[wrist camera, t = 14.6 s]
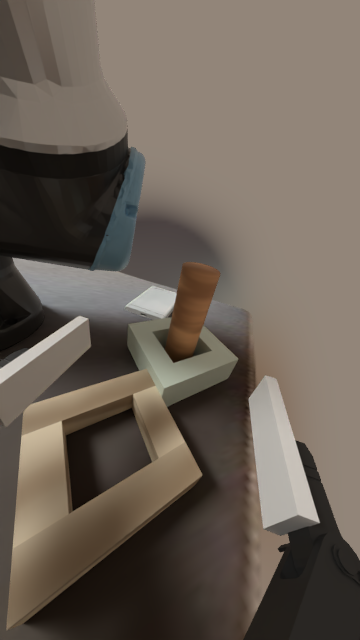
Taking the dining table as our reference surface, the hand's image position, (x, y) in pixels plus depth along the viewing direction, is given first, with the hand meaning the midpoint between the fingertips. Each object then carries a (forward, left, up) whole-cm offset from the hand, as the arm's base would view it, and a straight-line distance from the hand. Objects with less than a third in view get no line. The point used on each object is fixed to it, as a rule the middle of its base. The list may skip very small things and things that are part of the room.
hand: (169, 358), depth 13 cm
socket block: (-7, +6, -10) cm, 13 cm away
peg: (-6, +6, -10) cm, 13 cm away
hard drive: (-23, +11, -10) cm, 27 cm away
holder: (0, -4, -10) cm, 11 cm away
